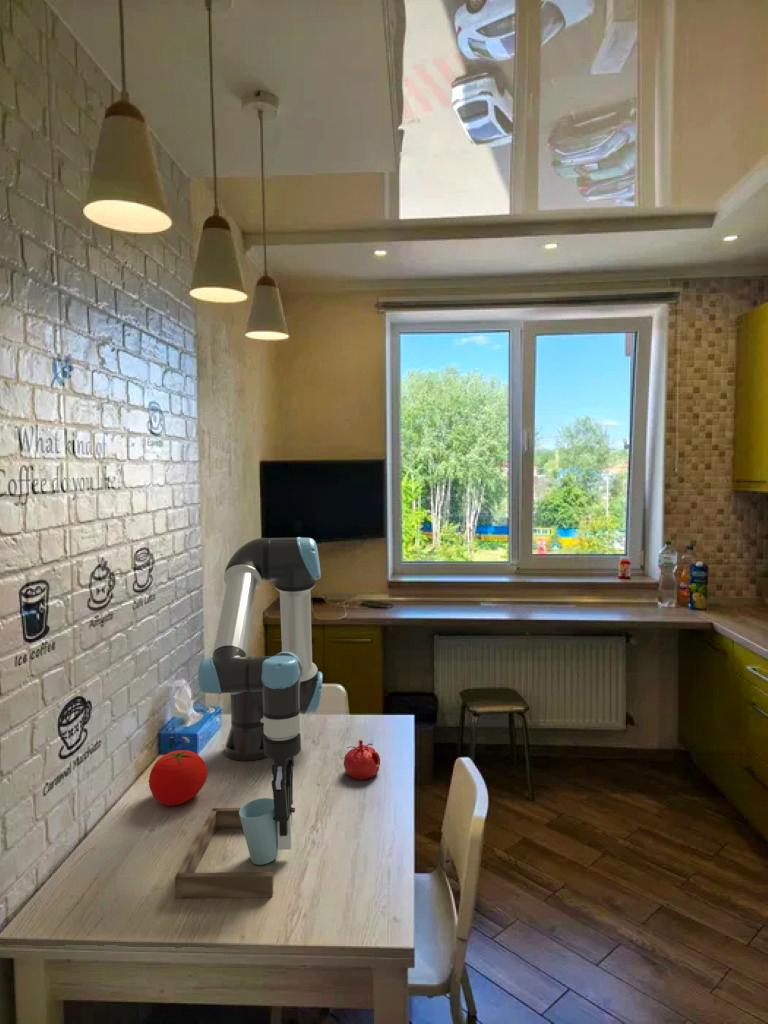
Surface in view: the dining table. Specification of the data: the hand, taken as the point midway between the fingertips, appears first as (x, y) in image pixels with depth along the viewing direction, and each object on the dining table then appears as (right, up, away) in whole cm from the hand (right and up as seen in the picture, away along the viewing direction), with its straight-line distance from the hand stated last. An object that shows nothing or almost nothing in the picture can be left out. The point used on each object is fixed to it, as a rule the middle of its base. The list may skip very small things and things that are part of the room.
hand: (285, 847), depth 121 cm
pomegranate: (+14, -1, +36) cm, 39 cm away
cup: (-4, -2, 0) cm, 5 cm away
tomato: (-31, -2, +24) cm, 39 cm away
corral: (-9, -2, 0) cm, 10 cm away
